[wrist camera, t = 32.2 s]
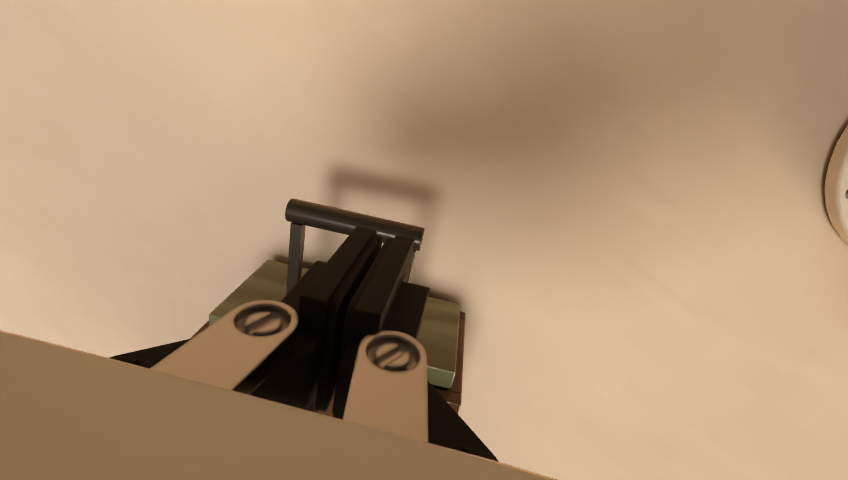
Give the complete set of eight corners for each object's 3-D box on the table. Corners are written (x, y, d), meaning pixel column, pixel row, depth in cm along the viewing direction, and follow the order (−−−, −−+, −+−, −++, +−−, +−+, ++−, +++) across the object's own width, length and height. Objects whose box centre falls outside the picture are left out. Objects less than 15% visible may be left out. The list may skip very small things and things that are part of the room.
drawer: (271, 165, 26) (205, 197, 19) (485, 212, 25) (487, 261, 19) (261, 414, 34) (212, 492, 28) (420, 452, 34) (407, 541, 27)
